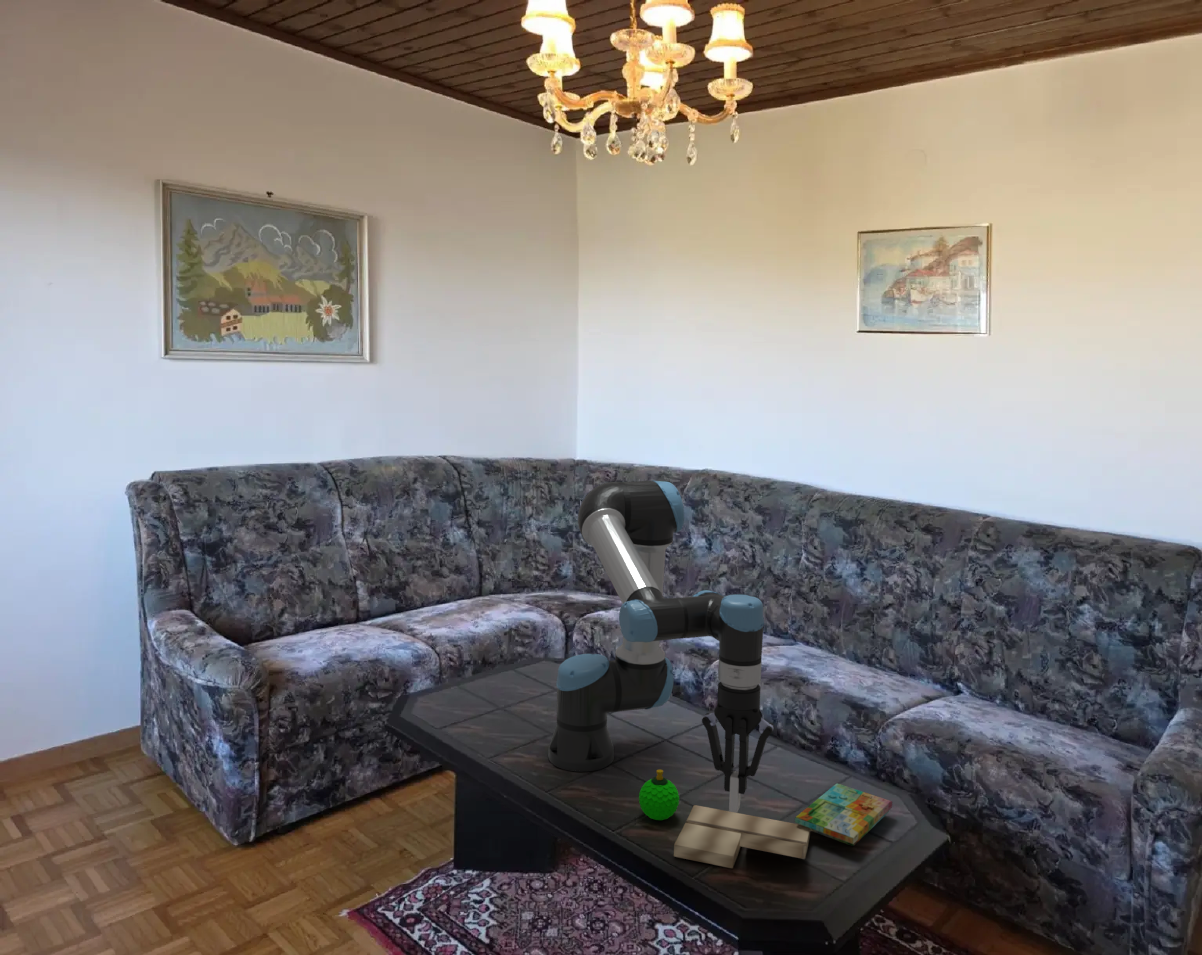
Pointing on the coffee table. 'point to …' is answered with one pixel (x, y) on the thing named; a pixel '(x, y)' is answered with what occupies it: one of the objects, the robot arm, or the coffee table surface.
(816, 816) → the puzzle game
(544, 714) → the coffee table surface
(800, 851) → the plank
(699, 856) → the plank
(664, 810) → the ornament
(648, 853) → the coffee table surface
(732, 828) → the laid board
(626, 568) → the robot arm
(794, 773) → the coffee table surface
